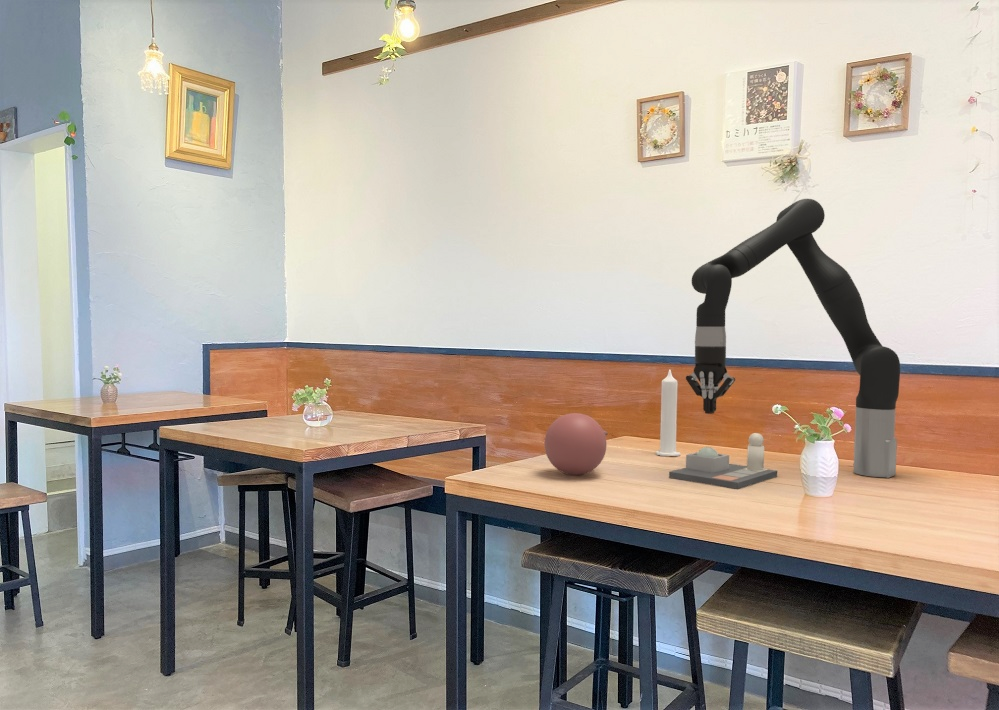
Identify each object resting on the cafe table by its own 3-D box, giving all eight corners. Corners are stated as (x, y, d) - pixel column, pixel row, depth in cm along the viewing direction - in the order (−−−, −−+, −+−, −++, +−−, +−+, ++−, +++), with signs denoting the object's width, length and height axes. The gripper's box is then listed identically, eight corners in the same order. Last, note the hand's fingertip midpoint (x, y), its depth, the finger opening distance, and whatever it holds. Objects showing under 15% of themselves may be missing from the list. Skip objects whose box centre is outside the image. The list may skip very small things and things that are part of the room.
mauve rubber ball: (630, 474, 191) (632, 413, 191) (575, 483, 178) (576, 418, 178) (586, 464, 203) (587, 407, 202) (531, 473, 190) (532, 412, 190)
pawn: (766, 469, 192) (767, 433, 191) (759, 471, 189) (760, 434, 188) (751, 466, 195) (752, 431, 194) (744, 468, 192) (745, 432, 191)
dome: (722, 468, 192) (722, 447, 192) (712, 471, 188) (712, 449, 188) (702, 465, 196) (703, 444, 196) (692, 468, 192) (693, 446, 192)
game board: (777, 476, 191) (777, 456, 191) (738, 489, 175) (738, 467, 175) (711, 466, 203) (712, 448, 203) (669, 477, 187) (669, 457, 187)
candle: (654, 456, 219) (657, 369, 218) (655, 452, 226) (657, 368, 225) (680, 457, 217) (682, 370, 216) (680, 453, 224) (682, 369, 223)
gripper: (742, 345, 189) (741, 414, 190) (693, 344, 198) (693, 410, 199) (728, 345, 183) (727, 416, 184) (679, 344, 192) (678, 412, 193)
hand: (709, 413), depth 191 cm, fingers closed
